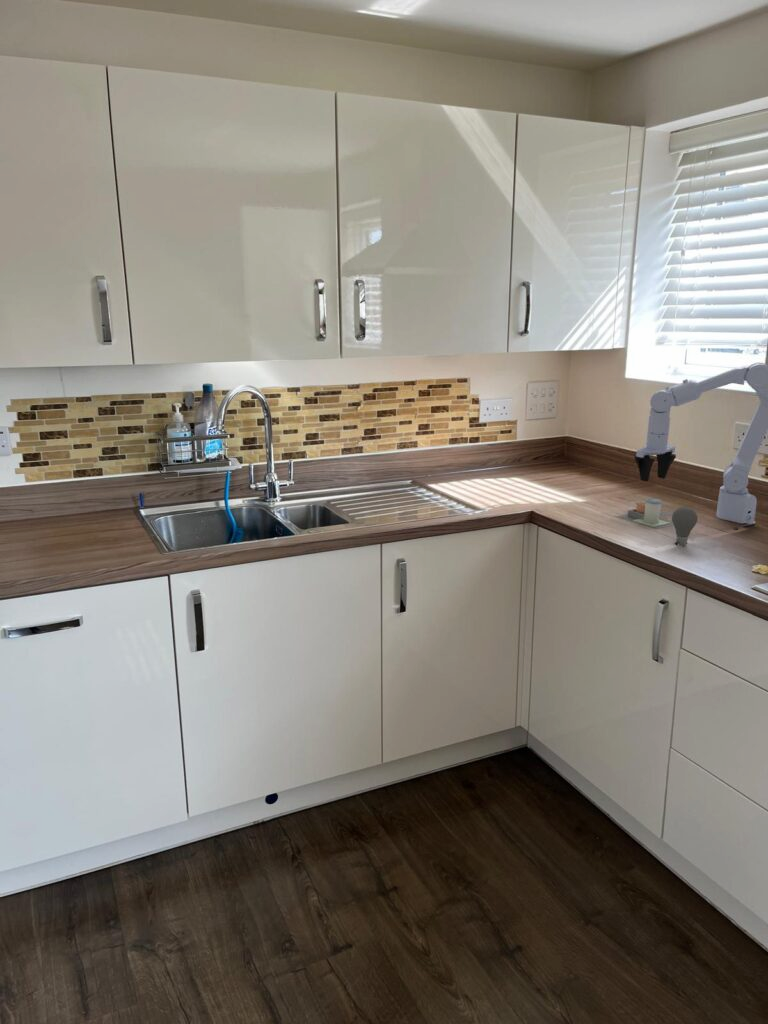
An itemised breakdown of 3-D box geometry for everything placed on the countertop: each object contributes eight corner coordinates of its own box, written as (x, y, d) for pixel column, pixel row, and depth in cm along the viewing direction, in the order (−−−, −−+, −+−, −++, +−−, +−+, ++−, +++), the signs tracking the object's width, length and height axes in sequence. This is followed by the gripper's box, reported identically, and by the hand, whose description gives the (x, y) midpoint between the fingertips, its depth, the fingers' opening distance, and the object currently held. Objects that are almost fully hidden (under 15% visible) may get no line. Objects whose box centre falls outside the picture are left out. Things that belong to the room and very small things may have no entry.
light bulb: (688, 541, 196) (692, 503, 194) (698, 548, 190) (703, 510, 188) (665, 541, 196) (669, 503, 193) (674, 548, 190) (679, 510, 188)
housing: (696, 524, 212) (697, 514, 211) (656, 533, 203) (657, 523, 202) (654, 512, 223) (655, 503, 222) (614, 520, 214) (615, 511, 213)
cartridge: (657, 524, 206) (660, 502, 205) (642, 522, 208) (645, 500, 206) (659, 520, 210) (662, 499, 208) (644, 518, 211) (647, 497, 210)
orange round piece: (651, 515, 213) (653, 505, 213) (643, 517, 212) (644, 507, 211) (641, 512, 216) (642, 502, 216) (633, 514, 214) (634, 504, 214)
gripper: (662, 429, 224) (657, 474, 228) (629, 432, 217) (625, 479, 220) (683, 432, 219) (677, 478, 222) (650, 436, 211) (645, 484, 215)
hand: (652, 479), depth 221 cm, fingers open, 7 cm apart
